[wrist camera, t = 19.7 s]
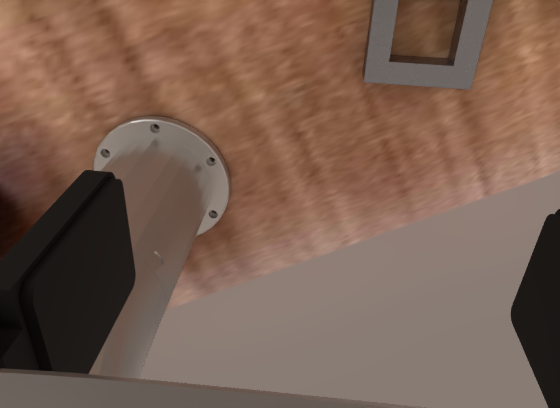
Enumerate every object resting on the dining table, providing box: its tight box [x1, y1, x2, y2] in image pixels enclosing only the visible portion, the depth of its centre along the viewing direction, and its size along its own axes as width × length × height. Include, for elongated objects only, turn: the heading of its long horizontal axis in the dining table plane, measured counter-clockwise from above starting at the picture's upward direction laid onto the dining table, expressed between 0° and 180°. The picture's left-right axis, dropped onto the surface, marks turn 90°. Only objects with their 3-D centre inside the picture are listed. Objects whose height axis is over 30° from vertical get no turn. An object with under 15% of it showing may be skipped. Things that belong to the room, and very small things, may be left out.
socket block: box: [363, 0, 493, 89], centre depth 36 cm, size 8×8×2 cm
